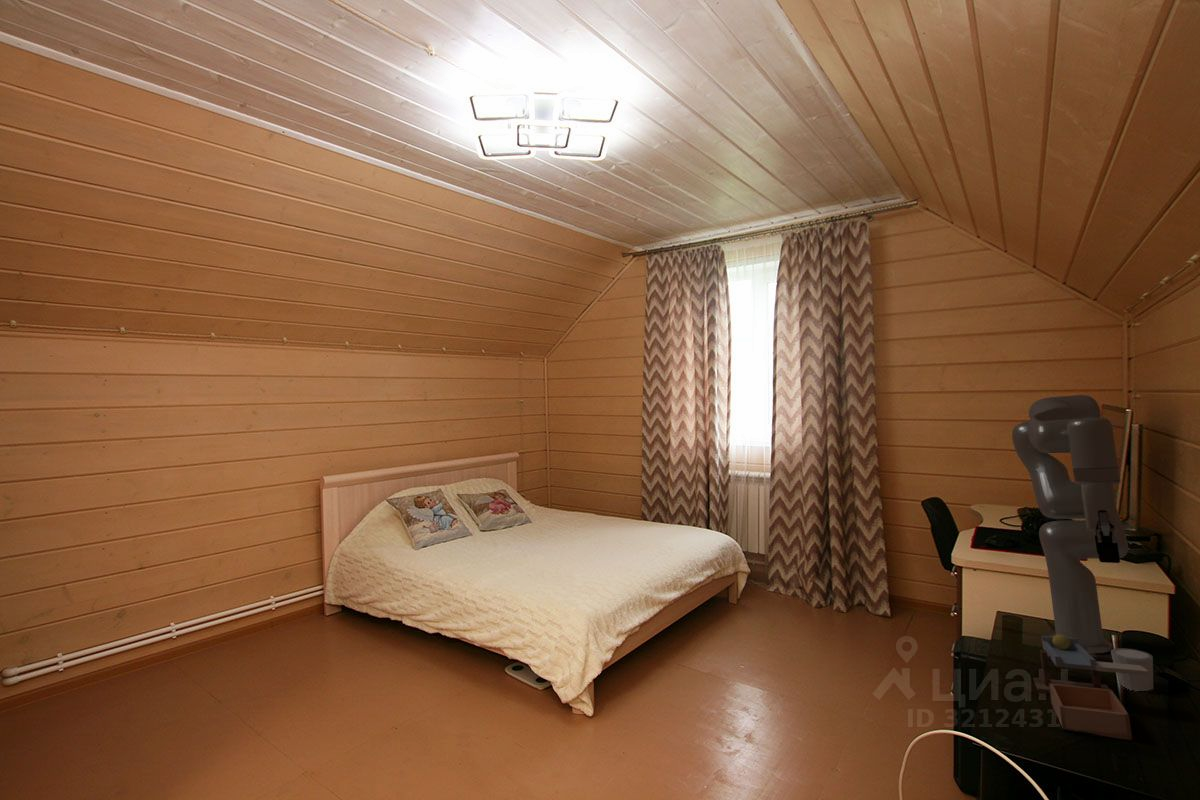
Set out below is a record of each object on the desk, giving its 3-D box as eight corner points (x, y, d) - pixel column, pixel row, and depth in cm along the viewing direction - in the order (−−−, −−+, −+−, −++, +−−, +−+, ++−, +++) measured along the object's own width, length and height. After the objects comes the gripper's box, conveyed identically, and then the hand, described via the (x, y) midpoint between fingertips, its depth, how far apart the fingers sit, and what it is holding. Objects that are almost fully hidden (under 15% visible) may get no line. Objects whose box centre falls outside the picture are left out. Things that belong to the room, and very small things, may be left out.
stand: (1033, 681, 134) (1029, 645, 134) (1107, 688, 128) (1102, 651, 128) (1038, 692, 129) (1033, 654, 129) (1115, 700, 122) (1109, 661, 123)
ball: (1053, 650, 136) (1050, 635, 137) (1070, 651, 134) (1067, 636, 136) (1054, 647, 133) (1051, 632, 135) (1072, 648, 132) (1069, 633, 133)
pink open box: (1051, 705, 123) (1048, 683, 123) (1114, 712, 118) (1111, 689, 118) (1062, 731, 113) (1059, 707, 113) (1132, 740, 108) (1129, 715, 108)
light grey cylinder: (1166, 693, 124) (1161, 659, 124) (1128, 693, 125) (1123, 659, 125) (1143, 679, 130) (1138, 647, 131) (1107, 679, 132) (1103, 647, 132)
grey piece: (1042, 652, 138) (1040, 635, 138) (1125, 659, 131) (1122, 641, 131) (1056, 670, 123) (1053, 651, 123) (1149, 679, 116) (1146, 659, 116)
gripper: (1073, 474, 134) (1084, 550, 133) (1074, 479, 121) (1086, 564, 119) (1116, 473, 130) (1128, 552, 128) (1123, 478, 116) (1136, 567, 114)
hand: (1108, 558), depth 124 cm, fingers open, 9 cm apart
